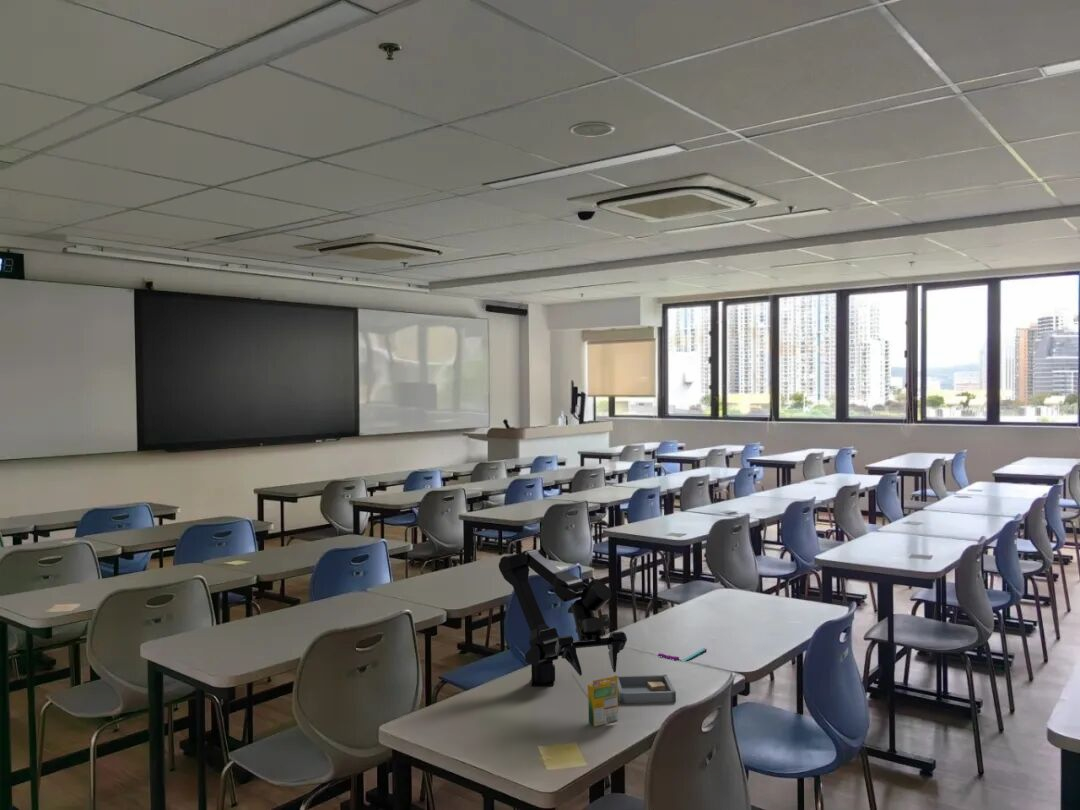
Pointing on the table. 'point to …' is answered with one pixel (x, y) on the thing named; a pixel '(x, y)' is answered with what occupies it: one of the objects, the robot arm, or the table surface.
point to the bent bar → (684, 658)
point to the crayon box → (603, 701)
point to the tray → (644, 689)
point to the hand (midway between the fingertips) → (598, 673)
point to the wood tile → (656, 685)
